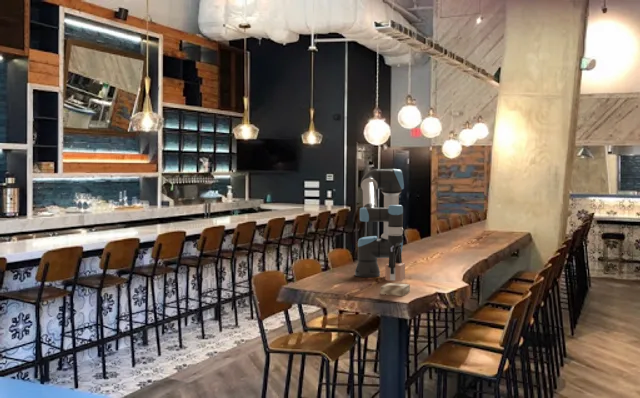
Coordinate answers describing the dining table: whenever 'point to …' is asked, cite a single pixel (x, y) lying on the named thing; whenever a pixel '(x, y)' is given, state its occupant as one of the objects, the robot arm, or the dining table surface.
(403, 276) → the terracotta cube
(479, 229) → the dining table surface
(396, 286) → the mottled grey-green square block
